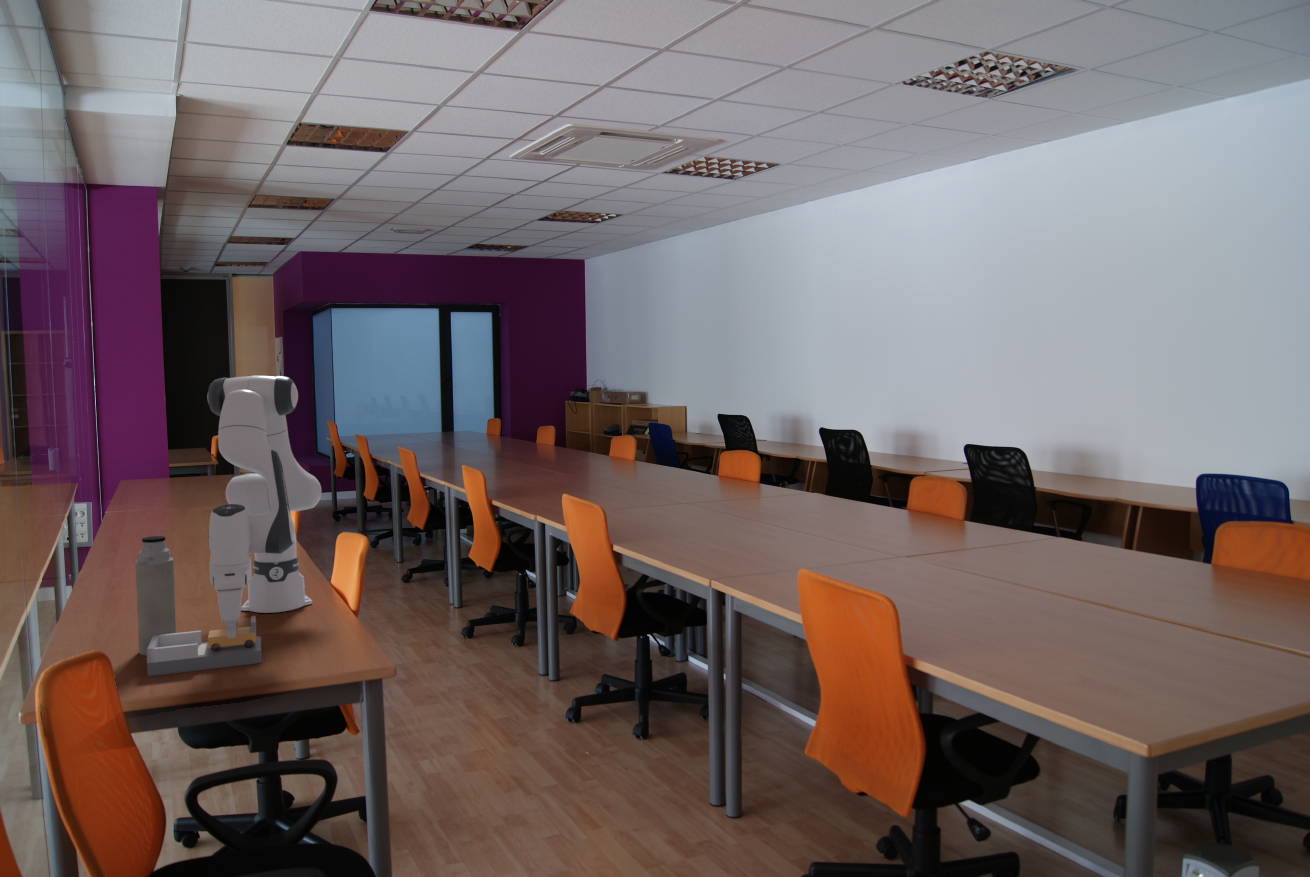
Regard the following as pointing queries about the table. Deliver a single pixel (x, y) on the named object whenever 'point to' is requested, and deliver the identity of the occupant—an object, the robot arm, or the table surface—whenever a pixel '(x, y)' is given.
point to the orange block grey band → (242, 637)
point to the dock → (195, 654)
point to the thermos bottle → (154, 591)
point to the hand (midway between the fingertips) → (232, 631)
